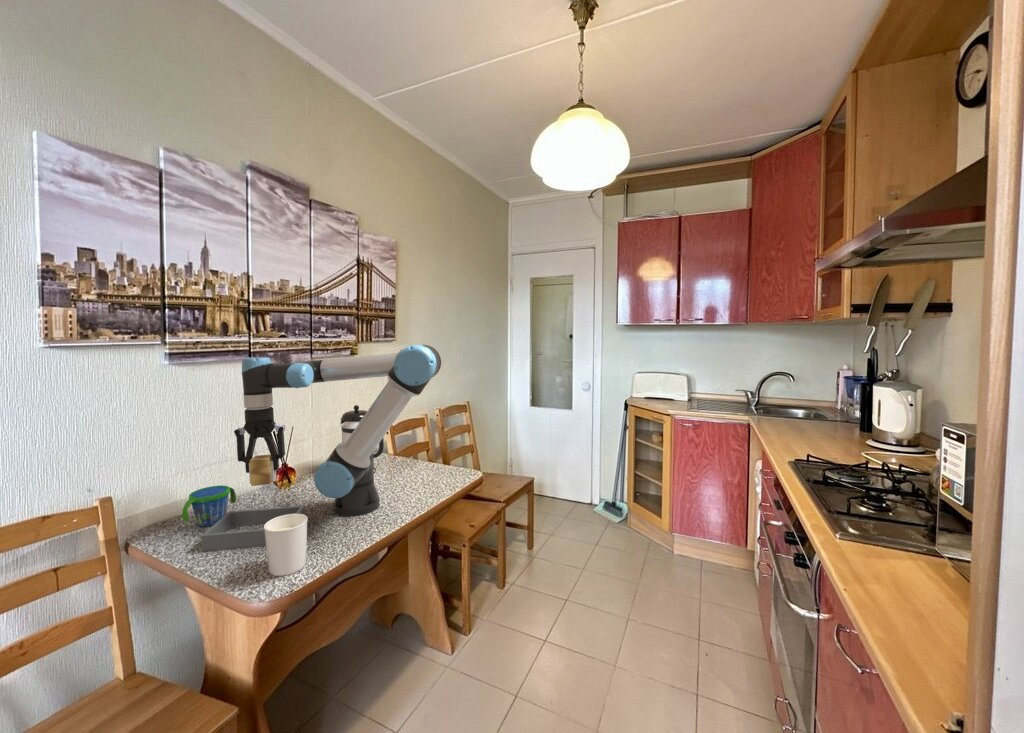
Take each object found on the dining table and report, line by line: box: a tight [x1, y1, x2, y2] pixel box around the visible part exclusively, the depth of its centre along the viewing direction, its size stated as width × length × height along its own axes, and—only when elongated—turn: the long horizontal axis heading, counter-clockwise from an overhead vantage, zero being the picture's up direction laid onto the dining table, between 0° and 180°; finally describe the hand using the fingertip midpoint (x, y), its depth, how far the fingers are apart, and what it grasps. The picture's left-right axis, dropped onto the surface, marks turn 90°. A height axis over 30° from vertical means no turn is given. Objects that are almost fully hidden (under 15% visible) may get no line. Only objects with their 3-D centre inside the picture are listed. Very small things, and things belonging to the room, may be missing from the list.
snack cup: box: [181, 484, 237, 527], centre depth 128 cm, size 16×10×10 cm
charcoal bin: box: [200, 504, 306, 552], centre depth 121 cm, size 22×16×4 cm
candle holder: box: [263, 514, 308, 577], centre depth 103 cm, size 10×10×12 cm
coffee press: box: [339, 404, 385, 474], centre depth 176 cm, size 17×16×30 cm
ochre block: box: [250, 454, 273, 487], centre depth 124 cm, size 5×5×8 cm
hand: (263, 481), depth 124 cm, fingers closed on ochre block, 5 cm apart
